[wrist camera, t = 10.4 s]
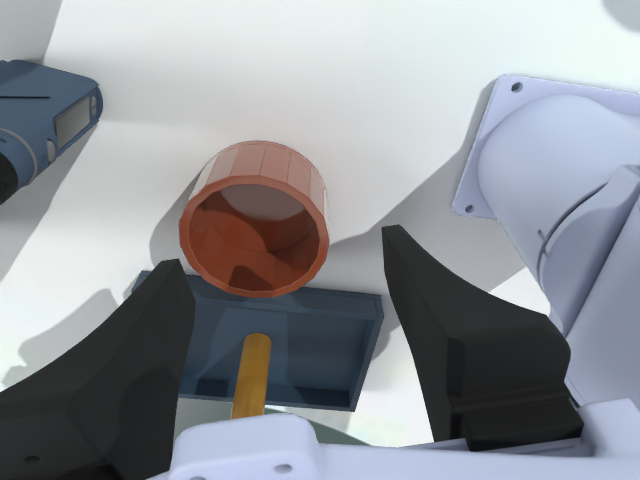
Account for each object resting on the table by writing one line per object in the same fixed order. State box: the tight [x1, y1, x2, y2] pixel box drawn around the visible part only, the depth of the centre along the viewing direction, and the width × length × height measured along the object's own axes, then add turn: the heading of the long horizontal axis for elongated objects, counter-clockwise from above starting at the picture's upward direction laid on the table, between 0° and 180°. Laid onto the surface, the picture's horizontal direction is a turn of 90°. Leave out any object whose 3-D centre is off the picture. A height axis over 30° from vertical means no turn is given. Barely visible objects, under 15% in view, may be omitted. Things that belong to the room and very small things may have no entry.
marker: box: [230, 333, 272, 420], centre depth 29 cm, size 2×2×8 cm
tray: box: [132, 271, 384, 412], centre depth 32 cm, size 16×10×2 cm, turn 82°
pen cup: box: [179, 141, 330, 298], centre depth 25 cm, size 8×8×4 cm
